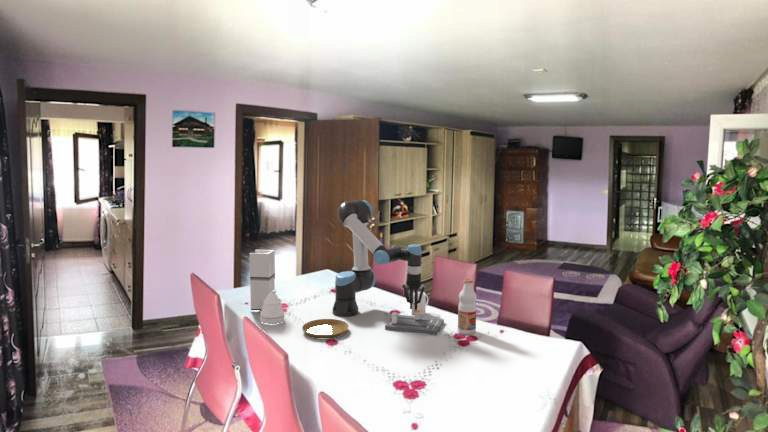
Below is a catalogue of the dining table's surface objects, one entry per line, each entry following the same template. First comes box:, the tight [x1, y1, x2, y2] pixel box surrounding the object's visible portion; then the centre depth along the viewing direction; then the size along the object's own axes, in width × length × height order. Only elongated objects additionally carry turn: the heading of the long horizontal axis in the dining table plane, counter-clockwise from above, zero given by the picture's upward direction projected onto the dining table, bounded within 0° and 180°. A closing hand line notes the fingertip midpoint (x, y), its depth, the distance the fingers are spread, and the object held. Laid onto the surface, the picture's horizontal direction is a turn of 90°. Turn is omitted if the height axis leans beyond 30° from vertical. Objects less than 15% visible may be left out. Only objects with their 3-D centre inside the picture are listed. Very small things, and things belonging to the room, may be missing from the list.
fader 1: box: [391, 311, 399, 324], centre depth 283 cm, size 3×3×5 cm
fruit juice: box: [457, 278, 477, 335], centre depth 275 cm, size 9×9×28 cm
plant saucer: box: [301, 318, 349, 339], centre depth 275 cm, size 24×24×3 cm
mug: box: [410, 291, 429, 317], centre depth 307 cm, size 12×8×12 cm
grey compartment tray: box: [384, 314, 445, 336], centre depth 285 cm, size 28×20×2 cm
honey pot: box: [260, 289, 285, 325], centre depth 290 cm, size 13×13×18 cm
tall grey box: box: [249, 249, 276, 311], centre depth 309 cm, size 11×11×35 cm
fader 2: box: [414, 309, 421, 320], centre depth 289 cm, size 3×3×5 cm
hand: (413, 314), depth 290 cm, fingers closed
